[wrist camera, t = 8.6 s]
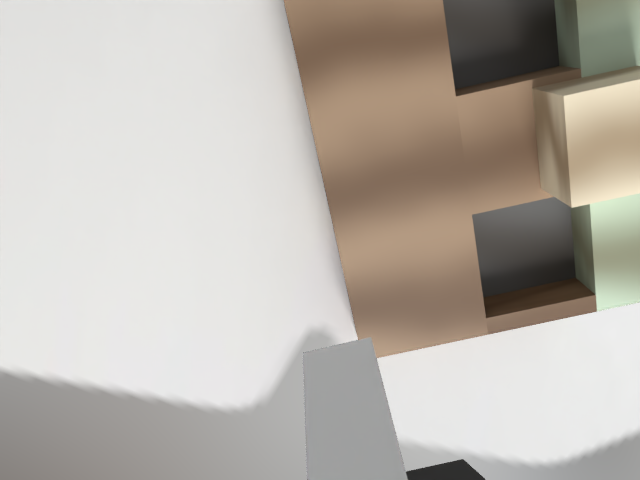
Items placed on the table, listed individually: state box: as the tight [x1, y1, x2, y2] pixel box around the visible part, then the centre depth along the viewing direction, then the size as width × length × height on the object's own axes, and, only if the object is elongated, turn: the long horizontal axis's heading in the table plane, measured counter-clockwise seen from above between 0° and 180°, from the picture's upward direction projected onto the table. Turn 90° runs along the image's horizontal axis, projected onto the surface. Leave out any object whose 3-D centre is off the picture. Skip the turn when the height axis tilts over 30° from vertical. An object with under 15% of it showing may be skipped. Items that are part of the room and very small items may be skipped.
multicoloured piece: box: [284, 0, 640, 358], centre depth 30 cm, size 20×19×4 cm
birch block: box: [532, 66, 640, 208], centre depth 27 cm, size 5×5×4 cm
